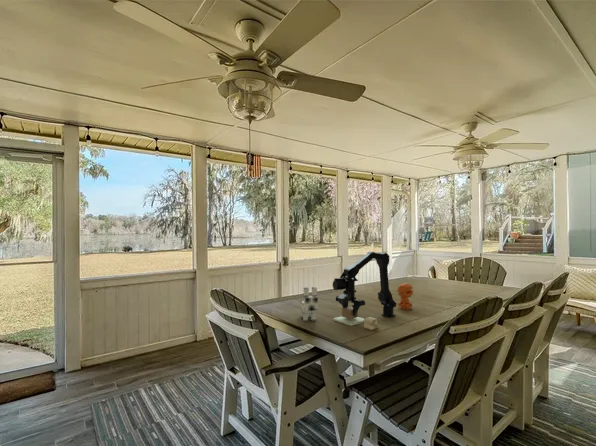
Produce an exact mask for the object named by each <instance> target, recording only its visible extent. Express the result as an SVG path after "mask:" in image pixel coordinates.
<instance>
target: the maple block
mask: <svg viewBox="0 0 596 446" xmlns="http://www.w3.org/2000/svg"><path fill="white" fill-rule="evenodd" d="M363 328H364V329H369V330H371V331H372V330H375V329H377V328H378V318H374V317H371V316H369V317H365V318H364V322H363Z"/></svg>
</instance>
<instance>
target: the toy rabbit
mask: <svg viewBox="0 0 596 446" xmlns="http://www.w3.org/2000/svg"><path fill="white" fill-rule="evenodd" d="M317 311H319V297H318V288H317V287H316V286H315V287H311V295H309V287H307V286H306V287H303V300H300V317H301V319H302V321H303V322H309V318H310V320H311V321H312V322H316V321H317Z"/></svg>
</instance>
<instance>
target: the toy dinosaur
mask: <svg viewBox="0 0 596 446" xmlns="http://www.w3.org/2000/svg"><path fill="white" fill-rule="evenodd" d="M396 290H397V295H398V296H400V301H399V302H397V305H398V308H400V309H401V310H406V311H408V310H410V309H413V302H410V300H409V298H411V297H412V295H413V293H414V290H413V286H412V284H410V283H408V282H404V283H401V284H400V285H399V286H398V287H397V289H396Z"/></svg>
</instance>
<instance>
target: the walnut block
mask: <svg viewBox="0 0 596 446" xmlns="http://www.w3.org/2000/svg"><path fill="white" fill-rule="evenodd" d="M341 316H342V317H345V318H348V319H353V318H356V317H359V310H358V311H357V313H356V316H354V315H353V307H352V306H348V307H345V308H343V307H342V308H341Z"/></svg>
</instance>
